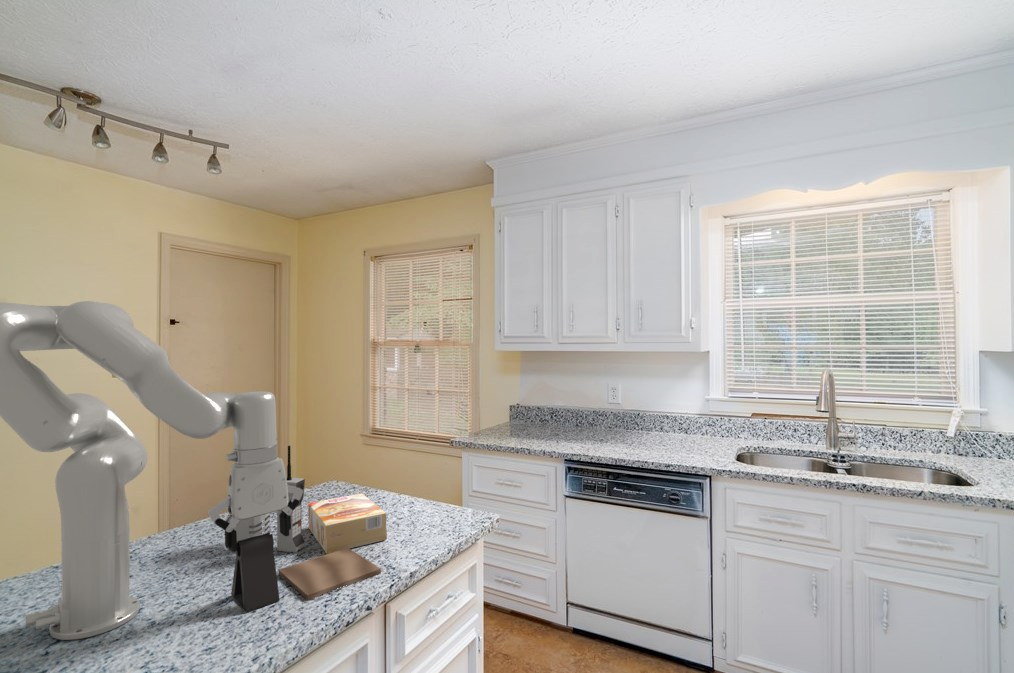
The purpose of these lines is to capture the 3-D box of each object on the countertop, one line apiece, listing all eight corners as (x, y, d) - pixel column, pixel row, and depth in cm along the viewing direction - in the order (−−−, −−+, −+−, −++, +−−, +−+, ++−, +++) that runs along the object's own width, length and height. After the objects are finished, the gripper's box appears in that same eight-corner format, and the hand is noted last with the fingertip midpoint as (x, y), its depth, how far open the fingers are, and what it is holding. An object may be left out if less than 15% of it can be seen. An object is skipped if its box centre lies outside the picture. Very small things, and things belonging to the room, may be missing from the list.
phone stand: (279, 601, 97) (279, 539, 97) (246, 613, 93) (246, 548, 93) (263, 585, 103) (263, 527, 103) (231, 595, 99) (231, 535, 99)
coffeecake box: (325, 524, 118) (307, 502, 134) (326, 555, 118) (307, 529, 134) (387, 511, 126) (362, 492, 142) (387, 540, 126) (363, 517, 142)
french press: (219, 550, 120) (219, 446, 120) (255, 532, 131) (255, 436, 131) (254, 555, 118) (254, 448, 118) (287, 535, 129) (287, 438, 129)
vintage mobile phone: (295, 553, 118) (295, 447, 118) (277, 551, 119) (277, 446, 119) (305, 546, 122) (305, 444, 122) (286, 545, 123) (286, 443, 123)
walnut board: (307, 600, 97) (307, 595, 97) (278, 574, 108) (278, 569, 108) (380, 573, 109) (380, 568, 109) (347, 551, 119) (347, 547, 119)
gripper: (212, 467, 89) (215, 563, 90) (308, 449, 102) (311, 533, 102) (200, 460, 95) (204, 551, 95) (293, 444, 107) (296, 524, 107)
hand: (259, 542), depth 98 cm, fingers open, 9 cm apart
